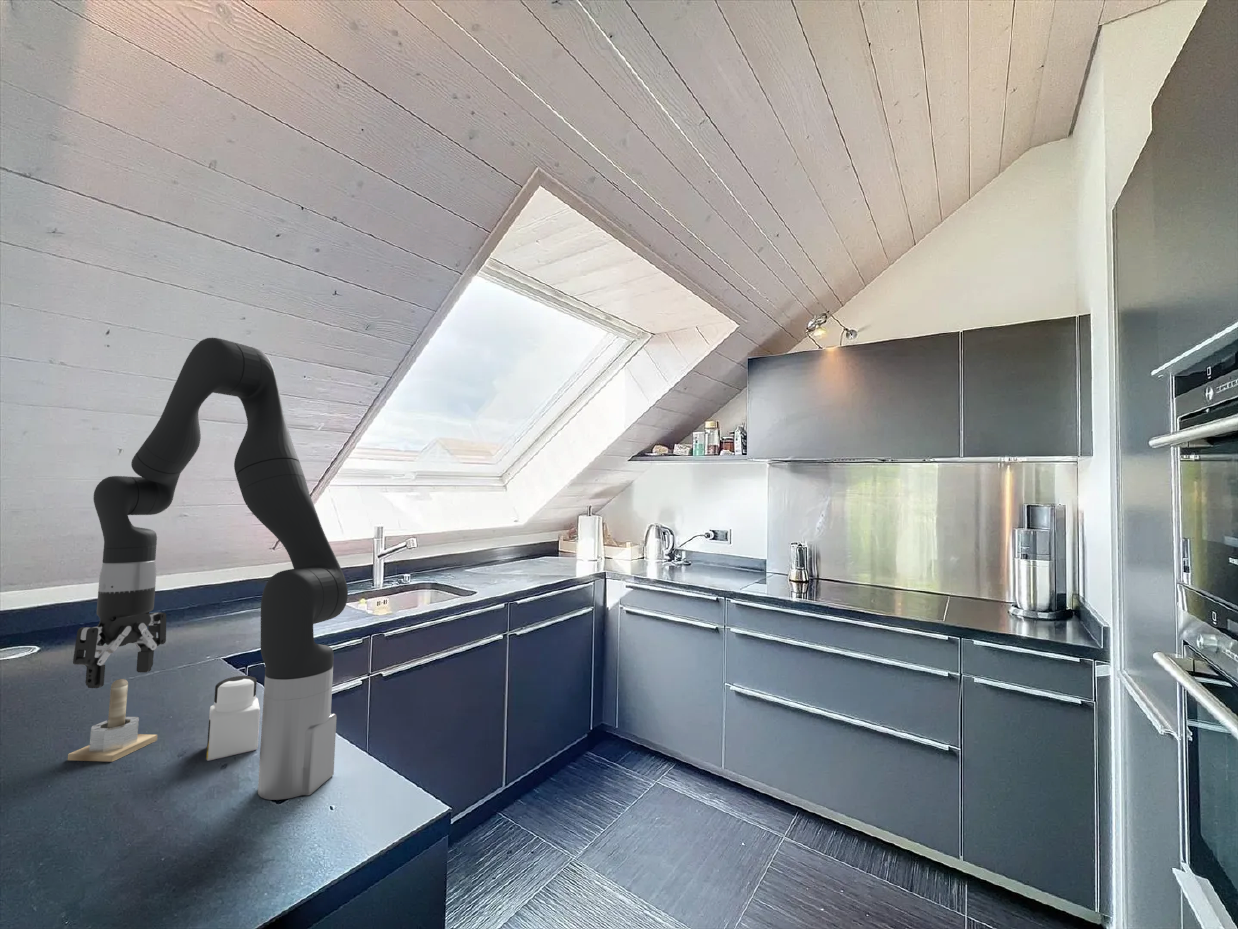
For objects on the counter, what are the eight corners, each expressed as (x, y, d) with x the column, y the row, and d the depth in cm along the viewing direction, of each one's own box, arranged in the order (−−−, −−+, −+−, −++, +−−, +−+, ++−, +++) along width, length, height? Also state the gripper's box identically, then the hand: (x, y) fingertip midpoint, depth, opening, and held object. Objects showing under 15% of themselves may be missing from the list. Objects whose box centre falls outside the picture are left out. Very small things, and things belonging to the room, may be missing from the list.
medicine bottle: (207, 746, 93) (211, 677, 94) (255, 736, 97) (259, 670, 98) (206, 762, 87) (211, 688, 88) (257, 750, 92) (261, 680, 93)
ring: (146, 737, 94) (148, 717, 94) (112, 752, 88) (114, 731, 88) (115, 736, 94) (116, 716, 95) (79, 751, 88) (81, 730, 89)
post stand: (157, 740, 95) (162, 672, 96) (112, 761, 87) (118, 687, 88) (115, 739, 95) (121, 671, 96) (67, 760, 88) (74, 686, 89)
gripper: (106, 593, 86) (98, 694, 85) (182, 581, 101) (176, 667, 99) (64, 593, 87) (55, 693, 85) (145, 581, 101) (139, 667, 100)
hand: (120, 679), depth 92 cm, fingers open, 8 cm apart
